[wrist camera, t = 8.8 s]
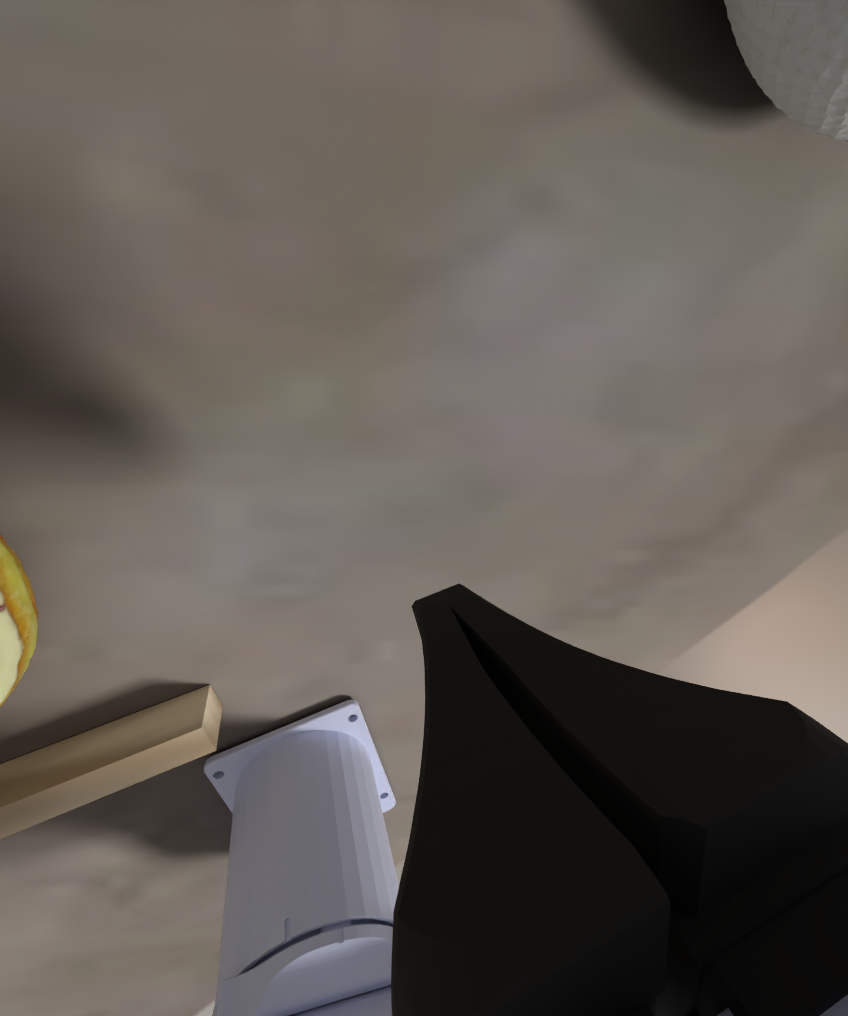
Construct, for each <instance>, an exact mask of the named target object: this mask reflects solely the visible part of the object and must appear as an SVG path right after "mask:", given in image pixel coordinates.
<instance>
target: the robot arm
mask: <svg viewBox="0 0 848 1016" xmlns="http://www.w3.org/2000/svg"><path fill="white" fill-rule="evenodd" d="M412 609H413V612H414V615H415V619H416V622H417V625H418V629H419V632H420V635H421V639H422V645H423V655H424V666H425V723H424V739H423V749H422V760H421V769H420V777H419V785H418V791H417V797H416V803H415V809H414V815H413V822H412V828H411V834H410V839H409V844H408V849H407V854H406V858H405V863H404V867H403V872H402V876H401V880H400V885H398V881H397V876H396V872H395V867H394V863H393V858H392V854H391V849H390V845H389V840H388V836H387V831H386V827H385V822H384V818H383V813H384V812H386V811H388V810H390V809H392V808H393V807H394V805H395V798H394V795H393V792H392V789H391V787H390V784H389V782H388V779H387V776H386V774H385V771H384V769H383V766H382V764H381V761H380V758H379V756H378V753H377V751H376V748H375V745H374V743H373V740H372V738H371V735H370V732H369V730H368V727H367V725H366V722H365V720H364V717H363V714H362V712H361V709H360V707H359V704H358V702H357V701H355V700H347V701H344V702H342V703H340V704H337V705H335V706H332V707H330V708H328V709H325V710H323V711H320V712H318V713H315V714H313V715H311V716H308V717H306V718H303V719H301V720H298V721H296V722H294V723H291V724H289V725H286V726H284V727H281V728H279V729H277V730H274V731H272V732H269V733H267V734H265V735H262V736H260V737H257V738H255V739H252V740H250V741H248V742H245V743H243V744H240V745H238V746H235V747H233V748H231V749H228V750H226V751H223V752H221V753H219V754H216V755H214V756H211V757H210V758H208V759H207V760H206V761H205V764H204V773H205V774H206V776H207V777H208V779H209V780H210V781H211V783H212V784H213V786H214V787H215V789H216V790H217V792H218V793H219V795H220V796H221V798H222V799H223V801H224V802H225V804H226V805H227V806H228V808H229V809H230V811H231V812H232V814H233V817H232V827H231V838H230V849H229V860H228V871H227V881H226V892H225V903H224V914H223V925H222V935H221V946H220V957H219V968H218V979H217V989H216V1000H215V1006H214V1011H213V1015H212V1016H848V743H846V742H845V741H844V740H842V739H841V738H839V737H838V736H837V735H835V734H834V733H832V732H831V731H830V730H828V729H827V728H825V727H824V726H823V725H821V724H820V723H819V722H817V721H816V720H814V719H813V718H811V717H810V716H808V715H807V714H805V713H804V712H802V711H801V710H799V709H797V708H796V707H794V706H793V705H791V704H790V703H788V702H786V701H780V700H775V699H769V698H763V697H758V696H752V695H747V694H741V693H736V692H730V691H725V690H719V689H714V688H710V687H705V686H701V685H697V684H693V683H688V682H684V681H680V680H676V679H672V678H668V677H664V676H661V675H657V674H653V673H650V672H647V671H643V670H640V669H637V668H634V667H630V666H627V665H624V664H621V663H617V662H614V661H611V660H609V659H606V658H603V657H600V656H597V655H595V654H592V653H590V652H587V651H585V650H582V649H579V648H577V647H574V646H572V645H570V644H567V643H565V642H563V641H561V640H559V639H556V638H554V637H552V636H550V635H548V634H546V633H544V632H542V631H540V630H538V629H536V628H534V627H532V626H530V625H528V624H526V623H524V622H523V621H521V620H519V619H517V618H515V617H514V616H512V615H510V614H508V613H506V612H505V611H503V610H501V609H500V608H498V607H496V606H495V605H493V604H491V603H490V602H488V601H486V600H485V599H483V598H482V597H480V596H479V595H477V594H475V593H474V592H472V591H471V590H469V589H468V588H466V587H465V586H463V585H461V584H457V585H454V586H452V587H449V588H447V589H444V590H442V591H439V592H437V593H434V594H432V595H429V596H427V597H424V598H422V599H419V600H416V601H415V602H414V604H413V605H412ZM351 715H354V716H351ZM218 771H221V772H218Z"/></svg>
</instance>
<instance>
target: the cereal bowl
mask: <svg viewBox="0 0 848 1016" xmlns="http://www.w3.org/2000/svg"><path fill="white" fill-rule="evenodd" d="M724 3H725V5H726V8H727V16H728V19H729V21H730V23H731V28H732V32H733V34H734V36H735V38H736V44H737V46H738V48H739V49H740V53H741V54H742V57H743V58H744V61H745V64H746V66H747V67H748V69H749V71H750V73H751V74H752V77H753V78H754V79H756V82H757V85H758V86H759V87H760V88H761V89H762V90H763V92H764V94H765V95H766V96H768V97H769V98H770V99H771V100H772V101H773V103H774V105H775V106H776V108H778V109H780V110H782V111H783V112H785V114H786V115H787V117H788V118H790V119H793V120H796V121H798V123H799V124H800V125H801V126H803V127H807V128H810V129H812V130H813V131H814V132H815V133H816V134H824V135H828V136H829V137H831V138H833V139H844V140H847V141H848V0H724Z"/></svg>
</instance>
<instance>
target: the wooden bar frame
mask: <svg viewBox="0 0 848 1016" xmlns="http://www.w3.org/2000/svg"><path fill="white" fill-rule="evenodd" d="M222 707H223V706H222V704H221V703H220V701H219V699H218V698H217V696H216V694H215V693H214V691H213V689H212V687H211V686H210V685H208V686H205V687H202V688H200V689H197V690H195V691H192V692H189V693H187V694H184V695H181V696H179V697H176V698H173V699H171V700H168V701H165V702H163V703H160V704H158V705H155V706H152V707H150V708H147V709H144V710H142V711H139V712H136V713H134V714H131V715H129V716H126V717H123V718H121V719H118V720H115V721H113V722H110V723H107V724H105V725H102V726H100V727H97V728H94V729H92V730H89V731H86V732H84V733H81V734H78V735H76V736H73V737H71V738H68V739H65V740H63V741H60V742H57V743H55V744H52V745H49V746H47V747H44V748H42V749H39V750H36V751H34V752H31V753H28V754H26V755H23V756H20V757H18V758H15V759H13V760H10V761H7V762H5V763H2V764H0V839H2V838H5V837H7V836H10V835H12V834H14V833H17V832H19V831H22V830H24V829H27V828H29V827H32V826H34V825H36V824H39V823H41V822H44V821H46V820H49V819H51V818H53V817H56V816H58V815H61V814H63V813H66V812H68V811H70V810H73V809H75V808H78V807H80V806H83V805H85V804H87V803H90V802H92V801H95V800H97V799H100V798H102V797H105V796H107V795H109V794H112V793H114V792H117V791H119V790H122V789H124V788H126V787H129V786H131V785H134V784H136V783H139V782H141V781H143V780H146V779H148V778H151V777H153V776H156V775H158V774H160V773H163V772H165V771H168V770H170V769H173V768H175V767H178V766H180V765H182V764H185V763H187V762H190V761H192V760H195V759H197V758H199V757H202V756H204V755H207V754H209V753H212V752H214V751H216V748H217V741H218V734H219V728H220V721H221V714H222Z"/></svg>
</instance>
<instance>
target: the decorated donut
mask: <svg viewBox="0 0 848 1016" xmlns="http://www.w3.org/2000/svg"><path fill="white" fill-rule="evenodd" d="M37 618H38V611H37V607H36V603H35V597H34V594H33V590H32V586H31V584H30V581H29V579H28V577H27V575H26V573H25V570H24V569H23V567H22V564H21V562H20V560H19V558H18V557H17V556H16V554H15V553H14V551H13V550H12V549H11V548H10V547H9V546H8V545H7V544H6V542H5V540H4V538H3V537H2V536H1V535H0V707H1V705H2V704H3V703H4V702H5V700H6V699H7V698H8V696H9V694H10V693H11V692H12V691H13V690H14V689H15V687H16V686H17V684H18V682H19V681H20V679H21V678H22V676H23V674H24V672H25V671H26V670H27V667H29V661H30V658H31V657H32V656H33V652H34V650H35V645H36V638H37V629H38V623H37Z"/></svg>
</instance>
